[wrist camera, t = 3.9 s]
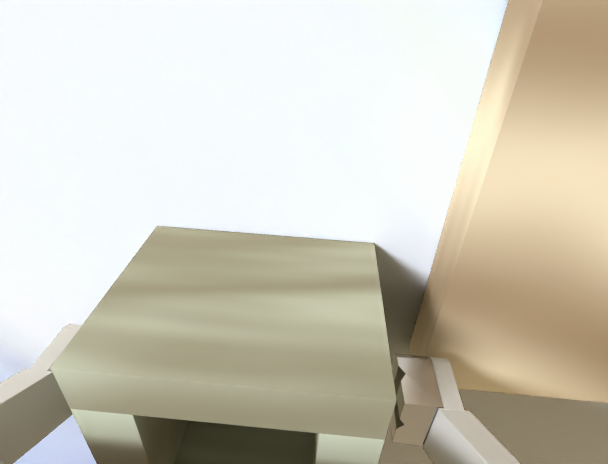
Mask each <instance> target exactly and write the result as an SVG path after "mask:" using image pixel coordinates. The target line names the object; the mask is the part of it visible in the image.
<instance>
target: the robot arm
mask: <svg viewBox="0 0 608 464" xmlns="http://www.w3.org/2000/svg"><path fill="white" fill-rule="evenodd" d="M81 326H82V325H73V324H69V325H67V326H65V327H64V328H63V329H62V330H61V331H60V333H59V334H58V335H57V336H56V337H55V339H54V340H53V341H52V342H51V344H50V345H49V346H48V347H47V349H46V350H45V351H44V352H43V354H42V355H41V356H40V357H39V358H38V360H37V361H36V362H35V363H34V365H33V366H32V367H31V368H30V369H24V370H22V371H20V372H18V373H17V374H15V375H13V376H11V377H10V378H8V379H6V380H4V381H3V382H1V383H0V464H13V463H14V462H16V461H17V460H18V459H19V458H20V457H22V456H23V455H24V454H25V453H26V452H28V451H29V450H30V449H31V448H32V447H34V446H35V445H36V444H37V443H38V442H40V441H41V440H42V439H43V438H44V437H46V436H47V435H48V434H49V433H50V432H52V431H53V430H54V429H55V428H57V427H58V426H59V425H60V424H61V423H63V422H64V421H65V420H66V419H67V418H69V417H70V416H71V415H72V414H73V413H72V411H71V409H70V407H69V405H68V403H67V401H66V399H65V397H64V395H63V393H62V391H61V389H60V387H59V385H58V382H57V380H56V378H55V376H54V374H53V372H52V370H51V368H50V367H51V366H52V365H53V363H54V362H55V361H56V359H57V358H58V357H59V355H60V354H61V353H62V351H63V350H64V349H65V347H66V346H67V345H68V343H69V342H70V341H71V339H72V338H73V337H74V336H75V334H76V333H77V332H78V330H79V329H80V328H81ZM392 368H393V370H392V372H393V379H394V386H395V393H396V400H397V401H396V404H395V407H394V411H393V414H392V418H391V421H390V426H391V434H392V441H393V442H394V443H402V444H410V445H418V446H423V449H424V450H425V452H426V453H427V455H428V456H429V458H430V459H431V461H432V462H433V464H520V463H519V462H518V461H517V460H516V458H515V457H514V456H513V455H512V454H511V453H510V452H509V451H508V450H507V449H506V448H505V447H504V446H503V445H502V444H501V443H500V442H499V441H498V440H497V439H496V438H495V437H494V435H493V434H492V433H491V432H490V431H489V430H488V429H487V428H486V427H485V426H484V425H483V424H482V423H481V422H480V421H479V420H478V419H477V418H476V417H475V416H474V415H473V414H472V413H471V411H466V410H464V406H463V403H462V400H461V397H460V393H459V390H458V387H457V384H456V380H455V377H454V374H453V370H452V367H451V364H450V361H449V360H448V359H447V358H437V357H428V356H417V355H404V354H395V355H394V356H393V359H392Z"/></svg>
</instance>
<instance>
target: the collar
mask: <svg viewBox="0 0 608 464" xmlns="http://www.w3.org/2000/svg"><path fill="white" fill-rule="evenodd" d="M50 368H51V370H52V372H53V374H54V376H55V378H56V380H57V382H58V385H59V387H60V389H61V391H62V393H63V395H64V397H65V399H66V401H67V403H68V405H69V407H70V409H71V411H72V413H73V415H74V417H75V420H76V422H77V424H78V426H79V428H80V430H81V432H82V434H83V436H84V438H85V440H86V442H87V444H88V446H89V448H90V450H91V453H92V455H93V457H94V459H95V461H96V463H97V464H378V462H379V458H380V455H381V451H382V448H383V445H384V441H385V438H386V434H387V431H388V428H389V424H390V421H391V418H392V414H393V411H394V407H395V404H396V401H397V400H396V393H395V386H394V379H393V372H392V365H391V358H390V351H389V344H388V337H387V330H386V322H385V315H384V308H383V301H382V294H381V287H380V280H379V273H378V266H377V259H376V252H375V245H374V243H363V242H350V241H338V240H325V239H313V238H300V237H287V236H275V235H262V234H250V233H237V232H225V231H212V230H200V229H187V228H175V227H162V226H157V227H156V228H155V229H154V231H153V232H152V233H151V235H150V236H149V237H148V239H147V240H146V241H145V243H144V244H143V245H142V247H141V248H140V249H139V251H138V252H137V253H136V255H135V256H134V257H133V259H132V260H131V261H130V263H129V264H128V265H127V267H126V268H125V269H124V271H123V272H122V273H121V275H120V276H119V277H118V278H117V280H116V281H115V282H114V284H113V285H112V286H111V288H110V289H109V290H108V292H107V293H106V294H105V296H104V297H103V298H102V300H101V301H100V302H99V304H98V305H97V306H96V308H95V309H94V310H93V312H92V313H91V314H90V316H89V317H88V318H87V320H86V321H85V322H84V324H83V325H82V326H81V328H80V329H79V330H78V332H77V333H76V334H75V336H74V337H73V338H72V339H71V341H70V342H69V343H68V345H67V346H66V347H65V349H64V350H63V351H62V353H61V354H60V355H59V357H58V358H57V359H56V361H55V362H54V363H53V365H52V366H51V367H50Z"/></svg>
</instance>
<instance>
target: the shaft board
mask: <svg viewBox="0 0 608 464" xmlns="http://www.w3.org/2000/svg"><path fill="white" fill-rule="evenodd" d="M409 351H410V355H417V356H428V357H437V358H447V359H448V360H449V361H450V364H451V367H452V370H453V374H454V377H455V380H456V384H457V387H458V389H463V390H474V391H485V392H495V393H506V394H517V395H527V396H538V397H549V398H560V399H570V400H581V401H592V402H602V403H608V0H509V1H508V4H507V8H506V11H505V15H504V18H503V22H502V25H501V29H500V32H499V36H498V39H497V43H496V46H495V50H494V53H493V56H492V60H491V63H490V67H489V70H488V74H487V77H486V81H485V84H484V88H483V91H482V95H481V98H480V102H479V105H478V109H477V112H476V115H475V119H474V122H473V126H472V129H471V133H470V136H469V140H468V143H467V147H466V150H465V154H464V157H463V161H462V164H461V168H460V171H459V174H458V178H457V181H456V185H455V188H454V192H453V195H452V199H451V202H450V206H449V209H448V213H447V216H446V220H445V223H444V227H443V230H442V234H441V237H440V240H439V244H438V247H437V251H436V254H435V258H434V261H433V265H432V268H431V272H430V275H429V279H428V282H427V286H426V289H425V293H424V296H423V299H422V303H421V306H420V310H419V313H418V317H417V320H416V324H415V327H414V331H413V334H412V338H411V341H410V345H409Z"/></svg>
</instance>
